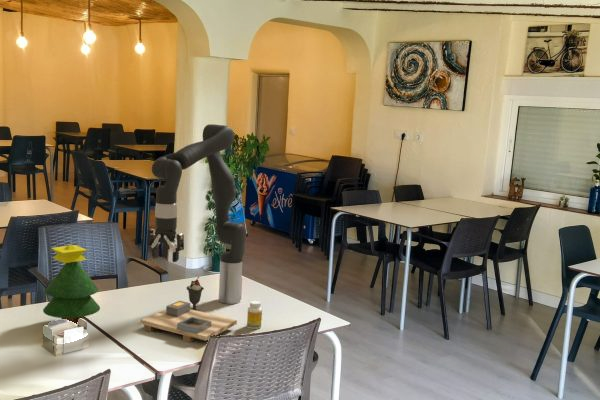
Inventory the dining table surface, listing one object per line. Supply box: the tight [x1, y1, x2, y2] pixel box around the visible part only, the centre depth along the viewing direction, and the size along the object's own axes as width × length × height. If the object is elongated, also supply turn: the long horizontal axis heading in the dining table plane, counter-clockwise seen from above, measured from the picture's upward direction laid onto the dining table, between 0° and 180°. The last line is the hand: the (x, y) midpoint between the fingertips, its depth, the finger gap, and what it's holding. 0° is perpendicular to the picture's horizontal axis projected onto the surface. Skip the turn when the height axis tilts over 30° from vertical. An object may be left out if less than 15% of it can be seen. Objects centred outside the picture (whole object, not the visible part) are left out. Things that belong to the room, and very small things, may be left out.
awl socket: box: [177, 317, 211, 334], centre depth 225 cm, size 8×8×2 cm
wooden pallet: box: [140, 308, 238, 343], centre depth 233 cm, size 20×28×4 cm
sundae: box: [186, 276, 205, 311], centre depth 250 cm, size 7×7×15 cm
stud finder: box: [165, 300, 191, 316], centre depth 239 cm, size 8×5×3 cm, turn 154°
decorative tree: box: [42, 243, 101, 324], centre depth 227 cm, size 19×19×30 cm
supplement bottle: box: [246, 300, 263, 330], centre depth 239 cm, size 5×5×10 cm
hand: (165, 259), depth 229 cm, fingers open, 8 cm apart
